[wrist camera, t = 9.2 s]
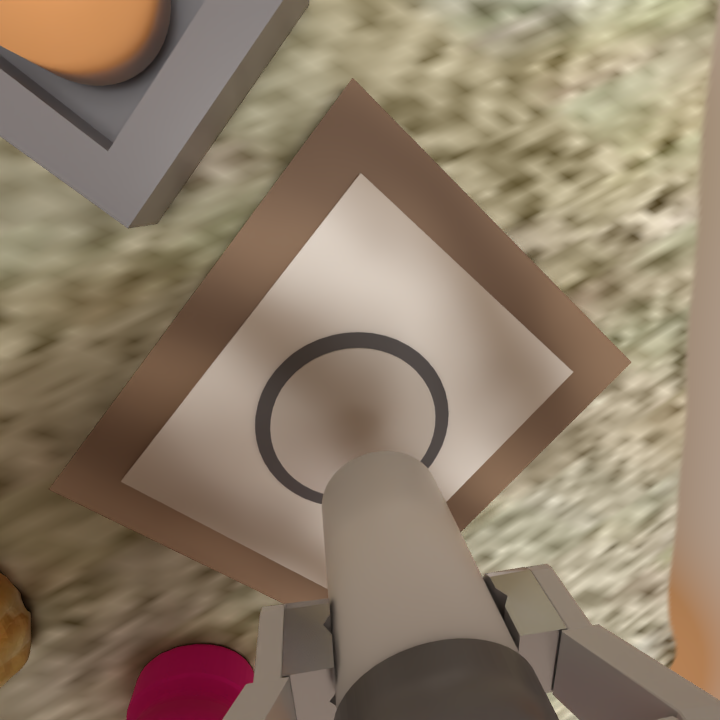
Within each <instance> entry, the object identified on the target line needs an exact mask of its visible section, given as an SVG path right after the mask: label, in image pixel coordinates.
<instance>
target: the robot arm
mask: <svg viewBox="0 0 720 720" xmlns="http://www.w3.org/2000/svg"><path fill="white" fill-rule="evenodd" d="M483 579H484V581H485V583H486V585H487V587H488V590H489V592H490V594H491V596H492V598H493V600H494V602H495V604H496V606H497V608H498V610H499V612H500V614H501V616H502V618H503V620H504V622H505V624H506V626H507V628H508V630H509V633H510V635H511V637H512V639H513V641H514V643H515V645H516V647H517V649H518V651H519V653H520V655H521V656H523V657H524V658H525V659H526V660H527V661H528V662H529V664H530V665H531V666H532V668H533V669H534V671H535V673H536V675H537V677H538V679H539V681H540V683H541V685H542V687H543V689H544V691H545V693H549V692H553V695H554V696H555V697H556V698H557V699H558V700H559V701H560V702H561V703H562V704H563V705H564V706H566V707H567V708H568V709H569V710H570V711H571V712H572V713H573V714H574V715H575V716H576V717H577V718H578V719H579V720H720V701H719V700H718V699H717V698H715V697H713V696H712V695H710V694H709V693H707V692H705V691H704V690H702V689H701V688H699V687H697V686H696V685H694V684H693V683H691V682H689V681H688V680H686V679H685V678H683V677H681V676H680V675H678V674H677V673H675V672H674V671H672V670H670V669H669V668H667V667H666V666H664V665H662V664H661V663H659V662H658V661H656V660H655V659H653V658H651V657H650V656H648V655H647V654H645V653H643V652H642V651H640V650H639V649H637V648H635V647H634V646H632V645H631V644H629V643H627V642H626V641H624V640H623V639H621V638H620V637H618V636H616V635H615V634H613V633H612V632H610V631H608V630H607V629H605V628H604V627H602V626H600V625H599V624H598V625H592V624H591V623H590V621H589V620H588V618H587V617H586V616H585V614H584V613H583V611H582V610H581V609H580V607H579V606H578V604H577V603H576V601H575V600H574V599H573V597H572V596H571V594H570V593H569V591H568V590H567V589H566V587H565V586H564V584H563V583H562V581H561V580H560V579H559V577H558V576H557V574H556V573H555V571H554V570H553V569H552V567H551V566H549V565H548V564H543V565H536V566H530V567H526V568H525V567H522V568H516V569H510V570H504V571H498V572H492V573H486V574H485V575H484V577H483ZM335 694H336V675H335V661H334V648H333V640H332V621H331V610H330V600H329V598H326V599H318V600H310V601H302V602H294V603H286V604H281V605H273V606H266V607H262V609H261V612H260V618H259V628H258V639H257V649H256V659H255V670H254V680H253V683H249V684H246V685H245V686H244V688H243V689H242V691H241V692H240V694H239V695H238V697H237V698H236V700H235V701H234V703H233V704H232V706H231V707H230V709H229V710H228V712H227V713H226V715H225V716H224V718H223V719H222V720H334V717H335V713H336V711H337V709H336V695H335Z"/></svg>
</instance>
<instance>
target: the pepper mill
mask: <svg viewBox="0 0 720 720" xmlns="http://www.w3.org/2000/svg"><path fill="white" fill-rule="evenodd" d="M253 680H254V672H253V670H252V668H251V666H250V665H249V663H248V662H247V661H246V659H244V658H243V657H242V656H241V655H239V654H238V653H237V652H234V651H232V650H230V649H228V648H225V647H222V646H217V645H211V644H192V645H186V646H180V647H176V648H174V649H171V650H169V651H166V652H164V653H161V654H160V655H158V656H157V657H155V658H154V659H153V660H152V661H150V662H149V663H148V664H147V665H146V666H145V667H144V669H143V670H142V672H141V673H140V675H139V677H138V679H137V682H136V685H135V688H134V692H133V695H132V698H131V701H130V704H129V707H128V710H127V720H222V719H223V718H224V716H225V715H226V713H227V712H228V710H229V709H230V707H231V706H232V704H233V703H234V701H235V700H236V698H237V697H238V695H239V694H240V692H241V691H242V689H243V688H244V686H245V685H246V684H249V683H253Z"/></svg>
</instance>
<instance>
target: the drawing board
mask: <svg viewBox="0 0 720 720" xmlns="http://www.w3.org/2000/svg"><path fill="white" fill-rule="evenodd" d="M630 363H631V361H630V360H629V359H628V358H627V357H626V356H625V355H624V354H623V353H622V352H621V351H620V350H619V349H618V348H617V347H616V346H615V345H614V344H613V343H612V342H611V341H610V340H609V339H608V338H607V337H606V336H605V335H604V334H603V333H602V332H601V331H600V330H599V329H598V328H597V327H596V326H595V325H594V324H593V323H592V322H591V321H590V319H589V318H588V317H587V316H586V315H585V314H584V313H583V312H582V311H581V310H580V309H579V308H578V307H577V306H576V305H575V304H574V303H573V302H572V301H571V300H570V299H569V298H568V297H567V296H566V295H565V294H564V293H563V292H562V291H561V290H560V289H559V288H558V287H557V286H556V285H555V284H554V283H553V282H552V281H551V280H550V279H549V278H548V277H547V276H546V275H545V274H544V273H543V272H542V271H541V269H540V268H539V267H538V266H537V265H536V264H535V263H534V262H533V261H532V260H531V259H530V258H529V257H528V256H527V255H526V254H525V253H524V252H523V251H522V250H521V249H520V248H519V247H518V246H517V245H516V244H515V243H514V242H513V241H512V240H511V239H510V238H509V237H508V236H507V235H506V234H505V233H504V232H503V231H502V230H501V229H500V228H499V227H498V226H497V225H496V224H495V223H494V222H493V221H492V219H491V218H490V217H489V216H488V215H487V214H486V213H485V212H484V211H483V210H482V209H481V208H480V207H479V206H478V205H477V204H476V203H475V202H474V201H473V200H472V199H471V198H470V197H469V196H468V195H467V194H466V193H465V192H464V191H463V190H462V189H461V188H460V187H459V186H458V185H457V184H456V183H455V182H454V181H453V180H452V179H451V178H450V177H449V176H448V175H447V174H446V173H445V172H444V171H443V169H442V168H441V167H440V166H439V165H438V164H437V163H436V162H435V161H434V160H433V159H432V158H431V157H430V156H429V155H428V154H427V153H426V152H425V151H424V150H423V149H422V148H421V147H420V146H419V145H418V144H417V143H416V142H415V141H414V140H413V139H412V138H411V137H410V136H409V135H408V134H407V133H406V132H405V131H404V130H403V129H402V128H401V127H400V126H399V125H398V124H397V123H396V122H395V121H394V119H393V118H392V117H391V116H390V115H389V114H388V113H387V112H386V111H385V110H384V109H383V108H382V107H381V106H380V105H379V104H378V103H377V102H376V101H375V100H374V99H373V98H372V97H371V96H370V95H369V94H368V93H367V92H366V91H365V90H364V89H363V88H362V87H361V86H360V85H359V84H358V83H357V82H356V81H355V80H354V79H353V78H352V80H351V81H350V82H349V84H348V85H347V86H346V88H345V89H344V90H343V92H342V93H341V94H340V96H339V97H338V98H337V100H336V101H335V103H334V104H333V105H332V107H331V108H330V109H329V111H328V112H327V113H326V115H325V116H324V117H323V119H322V120H321V121H320V123H319V124H318V126H317V127H316V128H315V130H314V131H313V132H312V134H311V135H310V136H309V138H308V139H307V140H306V142H305V143H304V144H303V146H302V147H301V149H300V150H299V151H298V153H297V154H296V155H295V157H294V158H293V159H292V161H291V162H290V163H289V165H288V166H287V168H286V169H285V170H284V172H283V173H282V174H281V176H280V177H279V178H278V180H277V181H276V182H275V184H274V185H273V186H272V188H271V189H270V191H269V192H268V193H267V195H266V196H265V197H264V199H263V200H262V201H261V203H260V204H259V205H258V207H257V208H256V209H255V211H254V212H253V214H252V215H251V216H250V218H249V219H248V220H247V222H246V223H245V224H244V226H243V227H242V228H241V230H240V231H239V232H238V234H237V235H236V237H235V238H234V239H233V241H232V242H231V243H230V245H229V246H228V247H227V249H226V250H225V251H224V253H223V254H222V256H221V257H220V258H219V260H218V261H217V262H216V264H215V265H214V266H213V268H212V269H211V270H210V272H209V273H208V274H207V276H206V277H205V279H204V280H203V281H202V283H201V284H200V285H199V287H198V288H197V289H196V291H195V292H194V293H193V295H192V296H191V297H190V299H189V300H188V302H187V303H186V304H185V306H184V307H183V308H182V310H181V311H180V312H179V314H178V315H177V316H176V318H175V319H174V320H173V322H172V323H171V325H170V326H169V327H168V329H167V330H166V331H165V333H164V334H163V335H162V337H161V338H160V339H159V341H158V342H157V344H156V345H155V346H154V348H153V349H152V350H151V352H150V353H149V354H148V356H147V357H146V358H145V360H144V361H143V362H142V364H141V365H140V367H139V368H138V369H137V371H136V372H135V373H134V375H133V376H132V377H131V379H130V380H129V381H128V383H127V384H126V385H125V387H124V388H123V390H122V391H121V392H120V394H119V395H118V396H117V398H116V399H115V400H114V402H113V403H112V404H111V406H110V407H109V408H108V410H107V411H106V413H105V414H104V415H103V417H102V418H101V419H100V421H99V422H98V423H97V425H96V426H95V427H94V429H93V430H92V432H91V433H90V434H89V436H88V437H87V438H86V440H85V441H84V442H83V444H82V445H81V446H80V448H79V449H78V450H77V452H76V453H75V455H74V456H73V457H72V459H71V460H70V461H69V463H68V464H67V465H66V467H65V468H64V469H63V471H62V472H61V473H60V475H59V476H58V478H57V479H56V480H55V482H54V483H53V484H52V486H51V487H50V488H49V490H51V491H53V492H55V493H57V494H59V495H61V496H63V497H65V498H67V499H69V500H71V501H73V502H76V503H78V504H80V505H82V506H84V507H86V508H88V509H90V510H92V511H94V512H96V513H98V514H100V515H102V516H104V517H106V518H108V519H111V520H113V521H115V522H117V523H119V524H121V525H123V526H125V527H127V528H129V529H131V530H133V531H135V532H137V533H139V534H141V535H143V536H146V537H148V538H150V539H152V540H154V541H156V542H158V543H160V544H162V545H164V546H166V547H168V548H170V549H172V550H174V551H176V552H178V553H181V554H183V555H185V556H187V557H189V558H191V559H193V560H195V561H197V562H199V563H201V564H203V565H205V566H207V567H209V568H211V569H213V570H216V571H218V572H220V573H222V574H224V575H226V576H228V577H230V578H232V579H234V580H236V581H238V582H240V583H242V584H244V585H246V586H248V587H251V588H253V589H255V590H257V591H259V592H261V593H263V594H265V595H267V596H269V597H271V598H273V599H275V600H277V601H279V602H281V603H283V604H286V603H294V602H302V601H310V600H318V599H326V598H328V586H327V572H326V558H325V544H324V531H323V517H322V499H323V494H324V491H325V488H326V486H327V484H328V482H329V481H330V479H331V478H332V476H333V475H334V474H335V473H336V472H337V471H338V470H339V469H340V468H341V467H342V466H343V465H345V464H346V463H348V462H349V461H351V460H353V459H355V458H357V457H359V456H362V455H364V454H368V453H372V452H378V451H394V452H400V453H404V454H407V455H410V456H412V457H414V458H416V459H417V460H419V461H420V462H422V463H423V464H424V465H425V466H426V467H427V468H428V469H429V471H430V472H431V473H432V475H433V477H434V479H435V481H436V483H437V485H438V487H439V489H440V491H441V493H442V495H443V497H444V499H445V502H446V504H447V506H448V508H449V510H450V512H451V514H452V516H453V518H454V520H455V522H456V524H457V526H458V528H459V530H460V532H461V531H462V530H463V529H464V528H465V527H466V526H467V525H468V524H469V523H470V522H471V521H472V520H473V519H474V518H475V517H476V516H477V515H478V514H479V513H480V512H481V511H482V510H483V509H484V508H485V507H486V506H487V505H488V504H489V503H490V502H491V501H492V500H493V499H494V498H495V497H496V496H497V495H498V494H499V493H500V492H501V491H502V490H503V489H504V488H505V487H506V486H507V485H508V484H509V483H510V482H512V481H513V480H514V479H515V478H516V477H517V476H518V475H519V474H520V473H521V472H522V471H523V470H524V469H525V468H526V467H527V466H528V465H529V464H530V463H531V462H532V461H533V460H534V459H535V458H536V457H537V456H538V455H539V454H540V453H541V452H542V451H543V450H544V449H545V448H546V447H547V446H548V445H549V444H550V443H551V442H552V441H553V440H554V439H555V438H556V437H557V436H558V435H559V434H560V433H561V432H562V431H563V430H564V429H565V428H566V427H567V426H568V425H569V424H570V423H571V422H572V421H573V420H574V419H575V418H576V417H577V416H578V415H579V414H580V413H581V412H582V411H583V410H584V409H585V408H586V407H587V406H588V405H589V404H590V403H591V402H592V401H593V400H594V399H595V398H596V397H597V396H598V395H599V394H600V393H601V392H602V391H603V390H604V389H605V388H606V387H607V386H608V385H609V384H610V383H611V382H612V381H613V380H614V379H615V378H616V377H617V376H618V375H619V374H620V373H621V372H622V371H623V370H624V369H625V368H626V367H627V366H628V365H629V364H630Z"/></svg>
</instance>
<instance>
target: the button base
mask: <svg viewBox="0 0 720 720" xmlns="http://www.w3.org/2000/svg"><path fill="white" fill-rule="evenodd" d="M308 5H309V0H171V14H170V23H169V27H168V32H167V35H166V38H165V40H164V43H163V45H162V47H161V49H160V51H159V53H158V55H157V56H156V57H155V58H154V60H153V61H152V62H151V64H150V65H149V66H147V67H146V68H145V69H144V70H143V71H142V72H140V73H139V74H138V75H136V76H135V77H133V78H131V79H129V80H126V81H124V82H121V83H117V84H113V85H105V86H92V85H85V84H79V83H76V82H72V81H69V80H66V79H64V78H62V77H59V76H57V75H55V74H53V73H51V72H49V71H47V70H46V69H44V68H42V67H40V66H38V65H36V64H34V63H32V62H30V61H28V60H27V59H25V58H23V57H21V56H19V55H17V54H15V53H13V52H11V51H9V50H8V49H6V48H4V47H2V46H0V137H2V138H3V139H5V140H6V141H7V142H9V143H10V144H12V145H13V146H14V147H16V148H17V149H19V150H20V151H21V152H23V153H24V154H25V155H27V156H28V157H30V158H31V159H32V160H34V161H35V162H37V163H38V164H39V165H41V166H42V167H43V168H45V169H46V170H48V171H49V172H50V173H52V174H53V175H55V176H56V177H57V178H59V179H60V180H61V181H63V182H64V183H66V184H67V185H68V186H70V187H71V188H73V189H74V190H75V191H77V192H78V193H79V194H81V195H82V196H84V197H85V198H86V199H88V200H89V201H91V202H92V203H93V204H95V205H96V206H98V207H99V208H100V209H102V210H103V211H104V212H106V213H107V214H109V215H110V216H111V217H113V218H114V219H116V220H117V221H118V222H120V223H121V224H122V225H124V226H125V227H127V228H133V227H139V226H145V225H152V224H157V223H158V222H159V220H160V219H161V217H162V216H163V214H164V213H165V212H166V210H167V209H168V207H169V206H170V204H171V203H172V201H173V200H174V199H175V197H176V196H177V194H178V193H179V191H180V190H181V188H182V187H183V186H184V184H185V183H186V181H187V180H188V178H189V177H190V176H191V174H192V173H193V171H194V170H195V168H196V167H197V165H198V164H199V163H200V161H201V160H202V158H203V157H204V155H205V154H206V152H207V151H208V150H209V148H210V147H211V145H212V144H213V142H214V141H215V139H216V138H217V137H218V135H219V134H220V132H221V131H222V129H223V128H224V127H225V125H226V124H227V122H228V121H229V119H230V118H231V116H232V115H233V114H234V112H235V111H236V109H237V108H238V106H239V105H240V103H241V102H242V101H243V99H244V98H245V96H246V95H247V93H248V92H249V90H250V89H251V88H252V86H253V85H254V83H255V82H256V80H257V79H258V78H259V76H260V75H261V73H262V72H263V70H264V69H265V67H266V66H267V65H268V63H269V62H270V60H271V59H272V57H273V56H274V54H275V53H276V52H277V50H278V49H279V47H280V46H281V44H282V43H283V42H284V40H285V39H286V37H287V36H288V34H289V33H290V31H291V30H292V29H293V27H294V26H295V24H296V23H297V21H298V20H299V18H300V17H301V16H302V14H303V13H304V11H305V10H306V8H307V7H308Z"/></svg>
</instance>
